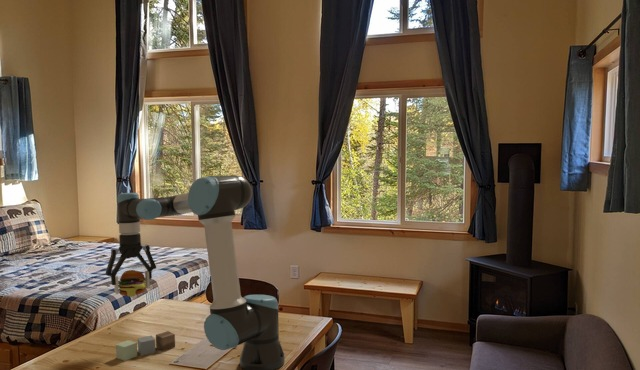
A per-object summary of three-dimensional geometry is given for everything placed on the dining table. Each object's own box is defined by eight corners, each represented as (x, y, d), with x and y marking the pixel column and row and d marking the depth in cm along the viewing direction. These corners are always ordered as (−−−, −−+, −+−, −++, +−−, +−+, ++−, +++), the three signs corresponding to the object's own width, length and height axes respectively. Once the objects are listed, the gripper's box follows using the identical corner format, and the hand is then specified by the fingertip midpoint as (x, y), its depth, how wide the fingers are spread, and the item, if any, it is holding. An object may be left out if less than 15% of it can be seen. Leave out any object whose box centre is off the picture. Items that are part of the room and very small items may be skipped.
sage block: (137, 356, 173) (136, 342, 173) (125, 361, 169) (124, 347, 169) (128, 353, 176) (128, 340, 176) (116, 358, 172) (115, 344, 172)
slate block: (155, 352, 176) (154, 339, 176) (141, 356, 173) (140, 342, 173) (152, 348, 180) (151, 335, 180) (138, 351, 178) (137, 338, 177)
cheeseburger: (116, 298, 177) (115, 271, 179) (120, 298, 187) (119, 272, 189) (145, 295, 180) (144, 268, 182) (147, 295, 190) (146, 269, 192)
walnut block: (175, 347, 181) (174, 334, 181) (162, 351, 177) (162, 337, 177) (168, 343, 184) (167, 331, 184) (156, 347, 181) (155, 334, 181)
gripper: (157, 229, 194) (159, 283, 195) (94, 235, 180) (97, 294, 181) (163, 231, 188) (165, 286, 189) (99, 237, 174) (102, 298, 175)
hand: (132, 290), depth 185 cm, fingers closed on cheeseburger, 11 cm apart
